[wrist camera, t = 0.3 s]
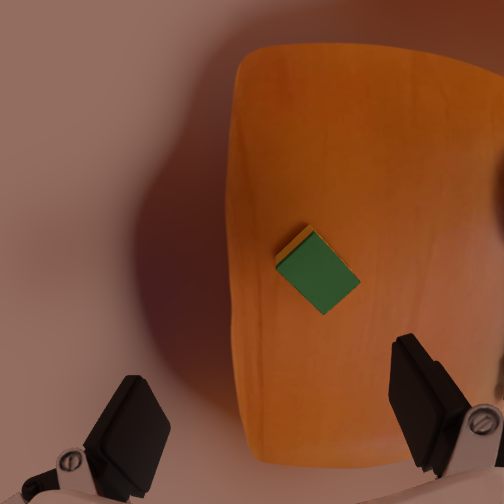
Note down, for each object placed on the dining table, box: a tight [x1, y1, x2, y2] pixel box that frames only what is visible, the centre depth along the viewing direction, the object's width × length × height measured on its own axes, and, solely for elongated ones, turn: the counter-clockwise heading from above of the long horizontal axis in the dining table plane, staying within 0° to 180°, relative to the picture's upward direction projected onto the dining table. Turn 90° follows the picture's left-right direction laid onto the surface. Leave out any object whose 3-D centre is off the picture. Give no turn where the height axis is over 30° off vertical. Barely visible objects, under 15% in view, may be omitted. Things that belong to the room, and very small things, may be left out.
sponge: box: [275, 225, 361, 315], centre depth 29 cm, size 7×5×4 cm
